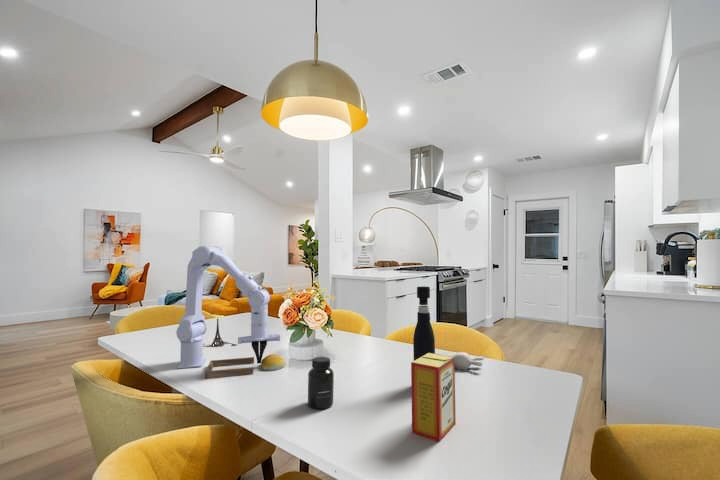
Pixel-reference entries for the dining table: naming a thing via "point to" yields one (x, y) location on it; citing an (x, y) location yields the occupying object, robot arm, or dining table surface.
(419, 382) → the baking soda box
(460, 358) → the grey fingered piece
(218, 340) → the eiffel tower figurine
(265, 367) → the bread roll
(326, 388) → the supplement bottle
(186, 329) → the robot arm
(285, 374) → the dining table surface
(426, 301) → the wine bottle
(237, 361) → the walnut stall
